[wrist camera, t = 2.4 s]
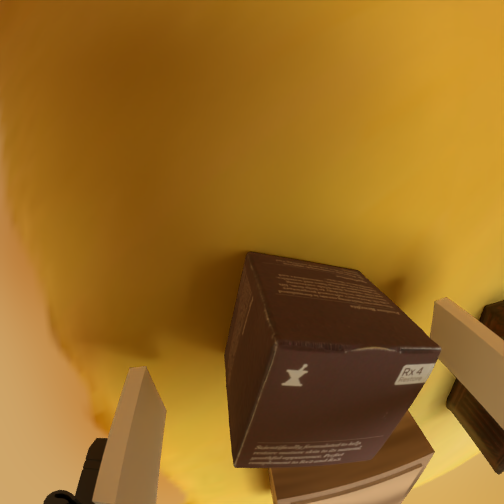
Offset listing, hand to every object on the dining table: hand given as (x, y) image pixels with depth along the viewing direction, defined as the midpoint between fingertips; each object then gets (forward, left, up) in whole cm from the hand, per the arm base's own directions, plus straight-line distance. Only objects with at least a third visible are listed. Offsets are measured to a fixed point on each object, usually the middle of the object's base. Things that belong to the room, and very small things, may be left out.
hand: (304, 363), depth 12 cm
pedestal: (+14, +2, -4) cm, 14 cm away
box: (0, 0, -4) cm, 4 cm away
